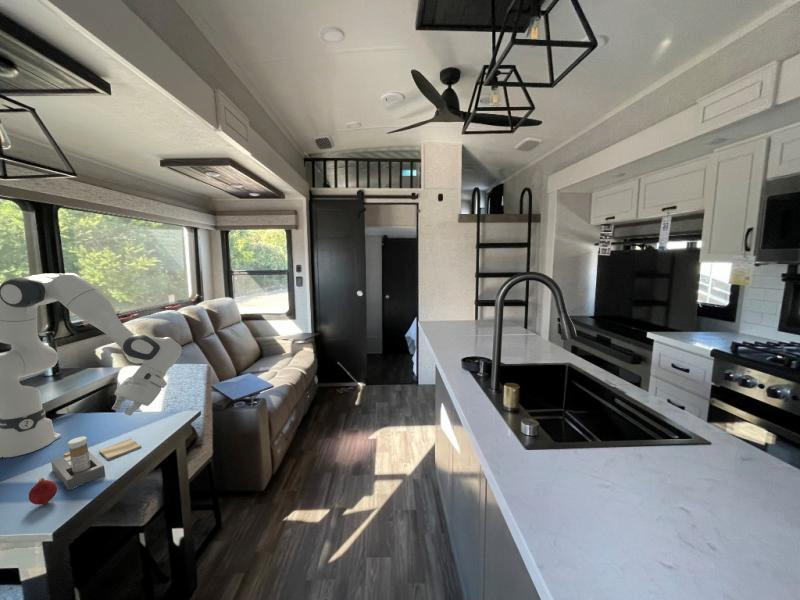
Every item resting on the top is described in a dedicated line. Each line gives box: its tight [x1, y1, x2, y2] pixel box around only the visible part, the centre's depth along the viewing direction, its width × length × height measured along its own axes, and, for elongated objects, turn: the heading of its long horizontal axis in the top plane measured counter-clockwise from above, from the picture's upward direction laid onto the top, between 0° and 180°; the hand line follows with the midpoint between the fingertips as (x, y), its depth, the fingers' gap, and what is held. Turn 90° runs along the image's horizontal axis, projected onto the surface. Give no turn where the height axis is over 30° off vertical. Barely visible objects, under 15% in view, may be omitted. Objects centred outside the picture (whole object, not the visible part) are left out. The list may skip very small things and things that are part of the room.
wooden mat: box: [98, 438, 142, 461], centre depth 127 cm, size 10×10×1 cm
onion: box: [28, 477, 58, 506], centre depth 99 cm, size 6×6×8 cm
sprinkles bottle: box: [67, 436, 90, 475], centre depth 111 cm, size 5×5×14 cm
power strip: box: [50, 450, 106, 491], centre depth 115 cm, size 26×9×4 cm, turn 56°
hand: (120, 412), depth 120 cm, fingers open, 8 cm apart
